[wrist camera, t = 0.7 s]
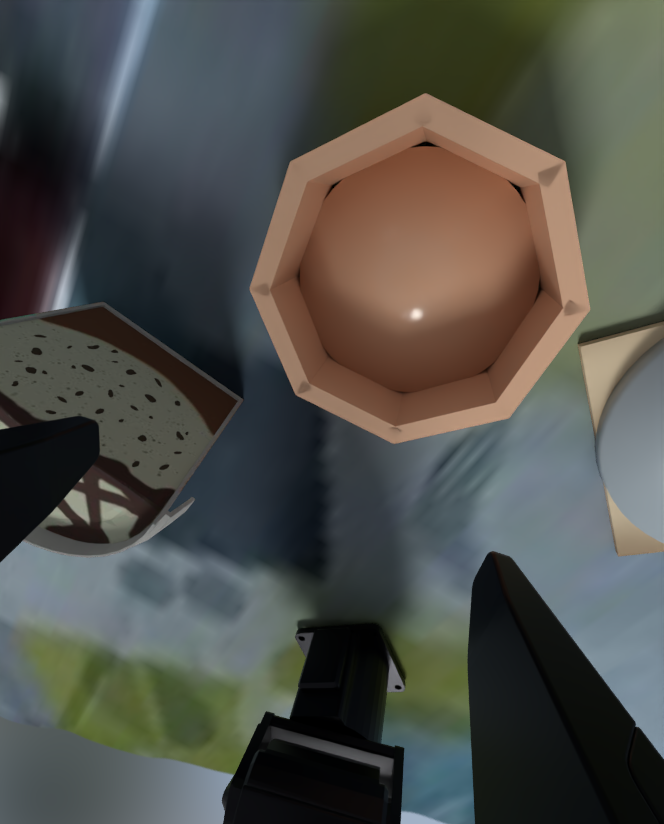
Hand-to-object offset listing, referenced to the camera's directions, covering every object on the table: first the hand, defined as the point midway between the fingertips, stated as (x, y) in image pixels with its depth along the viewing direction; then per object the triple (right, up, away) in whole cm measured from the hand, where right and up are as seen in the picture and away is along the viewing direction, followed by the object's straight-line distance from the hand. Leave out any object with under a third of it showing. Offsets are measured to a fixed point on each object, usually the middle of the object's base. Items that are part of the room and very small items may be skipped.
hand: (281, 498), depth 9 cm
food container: (-9, +3, +16) cm, 19 cm away
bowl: (+5, +8, +10) cm, 14 cm away
